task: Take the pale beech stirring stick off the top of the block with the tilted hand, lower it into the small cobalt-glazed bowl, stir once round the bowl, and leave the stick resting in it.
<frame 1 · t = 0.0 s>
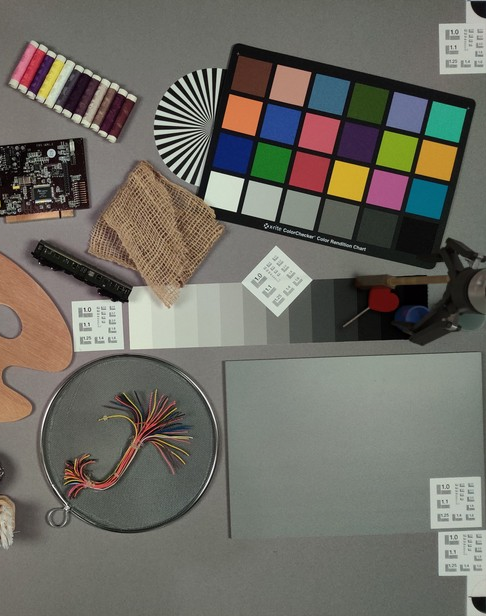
hand: (410, 292, 115), 29 cm above the table, tool pointing down, fingers open, 13 cm apart
block: (359, 282, 144), on the table
lollipop: (366, 308, 144), on the table
stick: (391, 281, 130), point 14 cm above the table, touching block
bowl: (407, 318, 144), on the table
cup: (441, 313, 144), on the table
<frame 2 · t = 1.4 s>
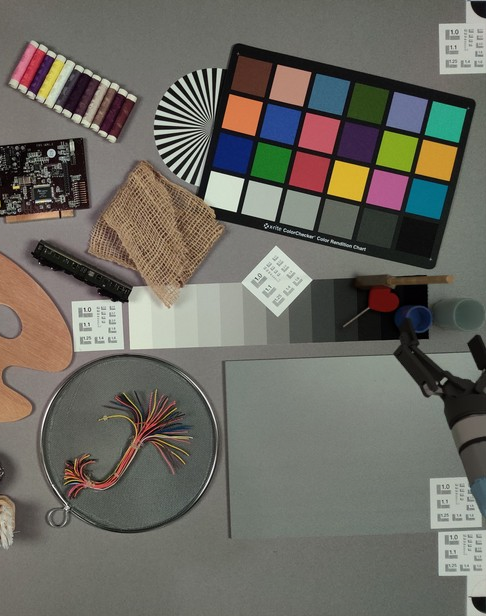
hand: (438, 330, 110), 34 cm above the table, tool tilted 45°, fingers open, 13 cm apart
nothing on the table moved.
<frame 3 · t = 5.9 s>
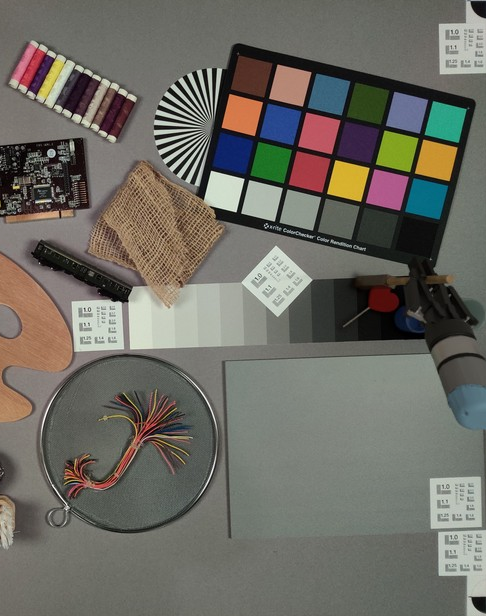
hand: (418, 262, 121), 22 cm above the table, tool tilted 45°, fingers closed on stick, 2 cm apart
stick: (391, 281, 130), point 14 cm above the table, touching gripper, block
everything else where it was.
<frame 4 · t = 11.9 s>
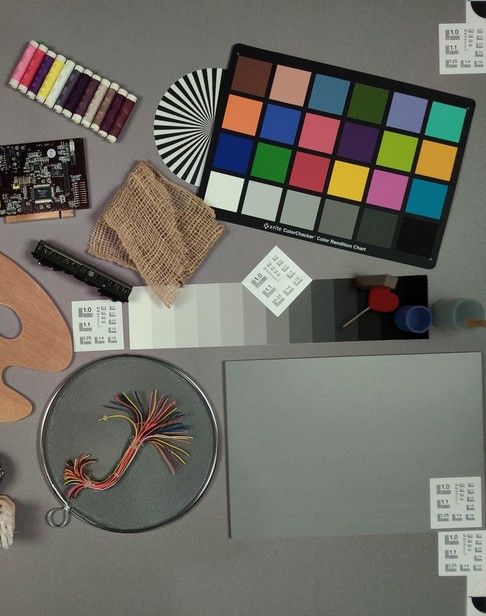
stick: (469, 322, 122), point 22 cm above the table, touching gripper
everything else where it was.
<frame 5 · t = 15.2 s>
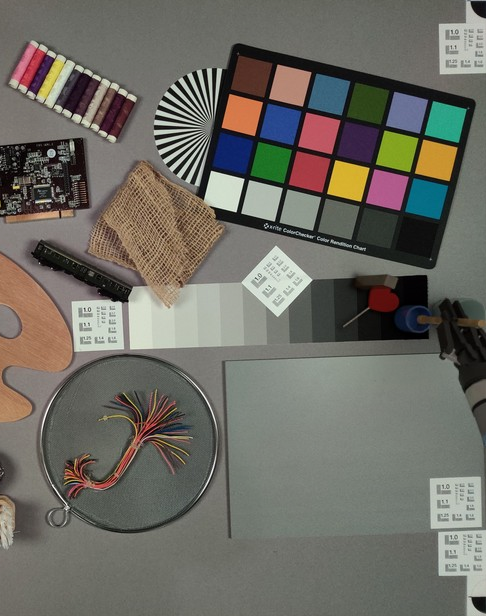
hand: (448, 303, 130), 14 cm above the table, tool tilted 45°, fingers closed on stick, 2 cm apart
stick: (421, 319, 138), point 6 cm above the table, touching gripper
everything else where it was.
when the fingers open (9 cm above the table, at t = 18.1 s): stick stays where it is, resting on bowl.
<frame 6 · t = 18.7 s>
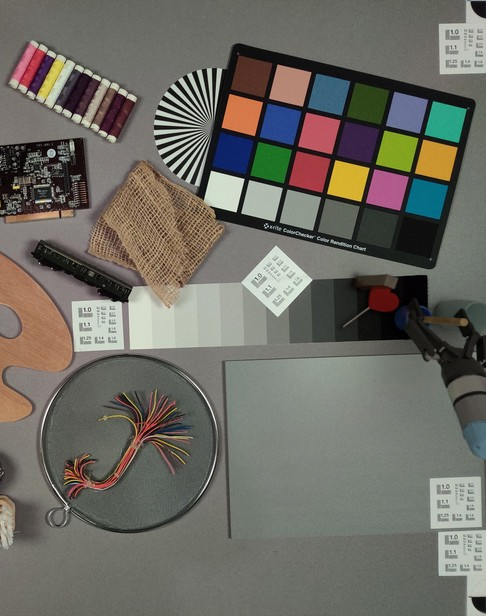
hand: (435, 307, 134), 10 cm above the table, tool tilted 45°, fingers open, 10 cm apart
stick: (408, 318, 143), point 1 cm above the table, touching bowl
cup: (442, 313, 144), on the table, touching gripper
everything else where it was.
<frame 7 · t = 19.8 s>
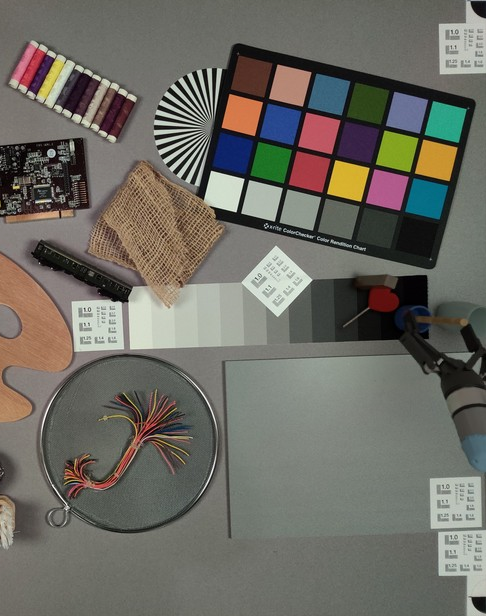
hand: (436, 320, 133), 11 cm above the table, tool tilted 45°, fingers open, 13 cm apart
cup: (443, 313, 143), point 1 cm above the table
everything else where it was.
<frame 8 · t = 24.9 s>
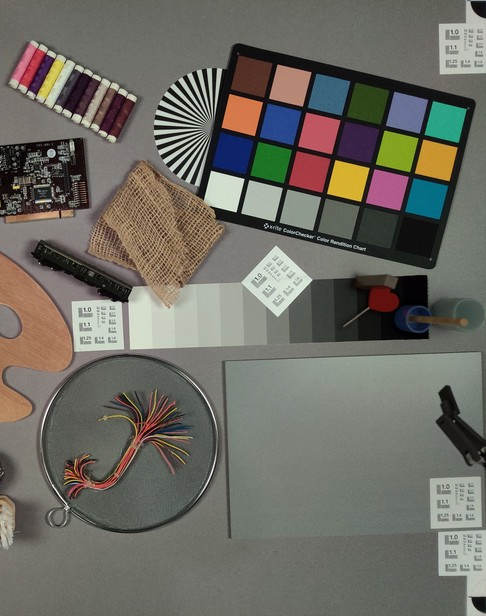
hand: (476, 395, 117), 28 cm above the table, tool tilted 45°, fingers open, 13 cm apart
at the end: stick 0.1 cm off-centre in the bowl, point 0.8 cm above the bowl's base; the gripper is holding nothing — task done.
